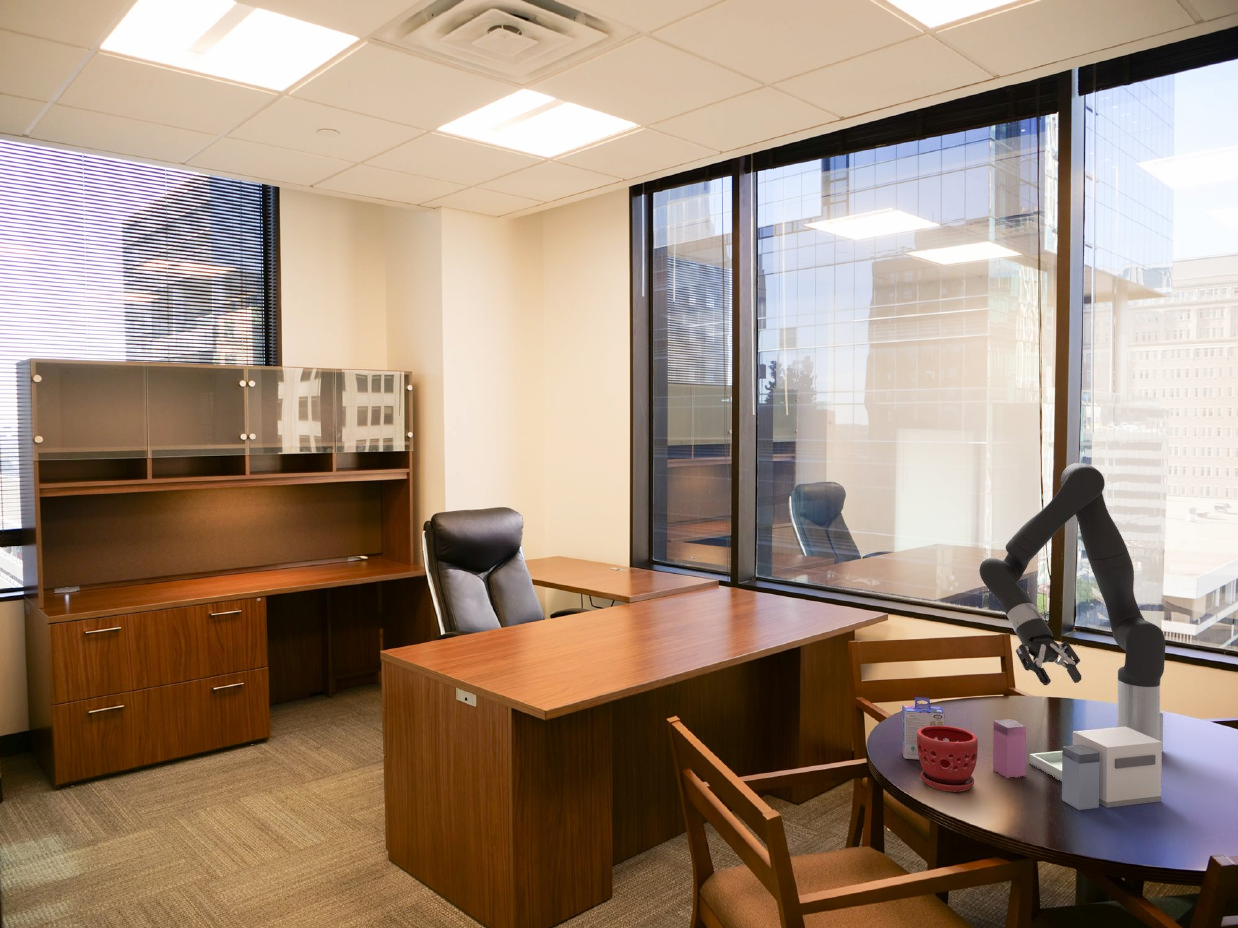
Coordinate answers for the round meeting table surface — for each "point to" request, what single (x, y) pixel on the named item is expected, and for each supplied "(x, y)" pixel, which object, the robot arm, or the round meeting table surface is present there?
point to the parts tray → (1048, 763)
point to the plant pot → (947, 757)
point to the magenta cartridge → (1009, 748)
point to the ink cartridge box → (918, 724)
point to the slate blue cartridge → (1080, 777)
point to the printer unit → (1125, 765)
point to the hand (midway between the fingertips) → (1063, 682)
